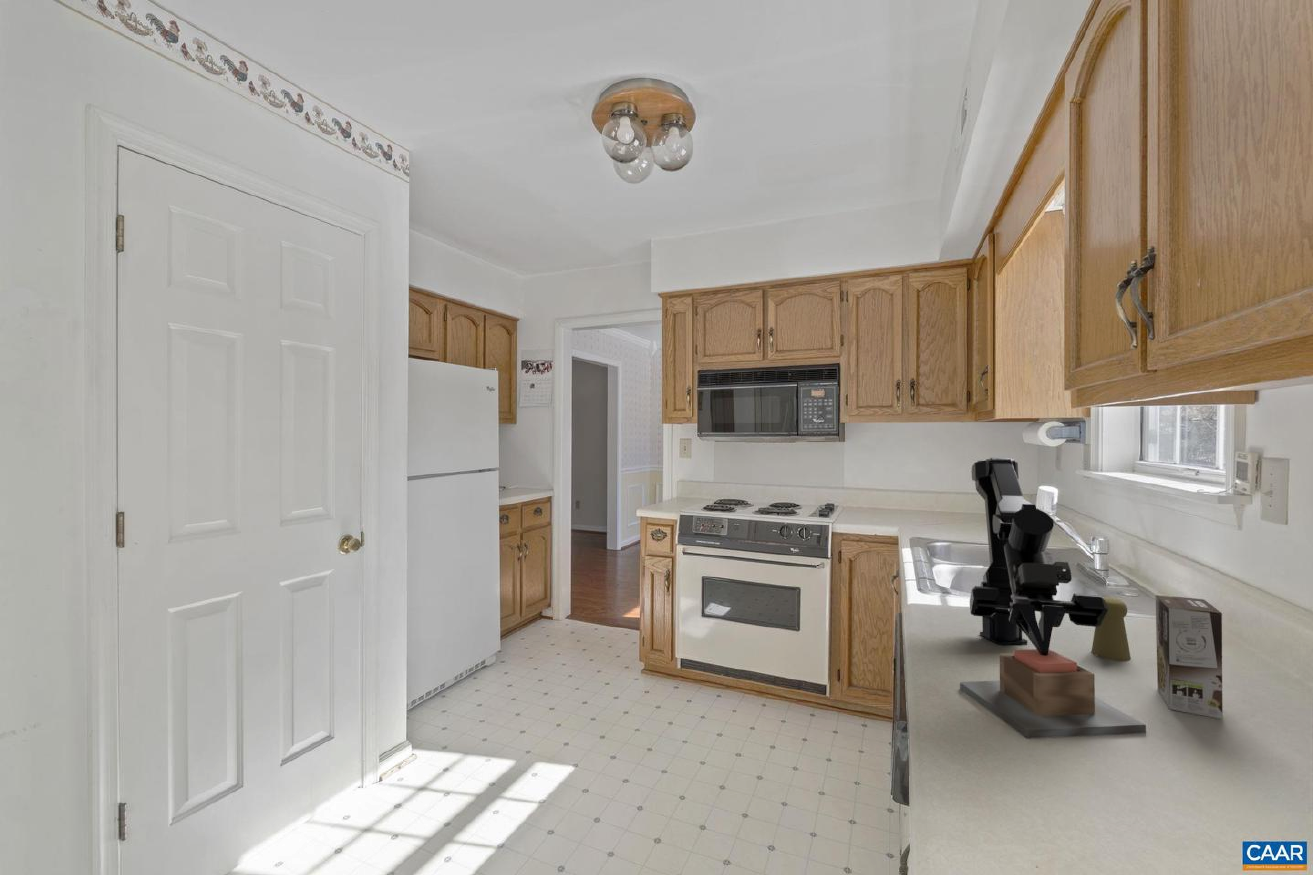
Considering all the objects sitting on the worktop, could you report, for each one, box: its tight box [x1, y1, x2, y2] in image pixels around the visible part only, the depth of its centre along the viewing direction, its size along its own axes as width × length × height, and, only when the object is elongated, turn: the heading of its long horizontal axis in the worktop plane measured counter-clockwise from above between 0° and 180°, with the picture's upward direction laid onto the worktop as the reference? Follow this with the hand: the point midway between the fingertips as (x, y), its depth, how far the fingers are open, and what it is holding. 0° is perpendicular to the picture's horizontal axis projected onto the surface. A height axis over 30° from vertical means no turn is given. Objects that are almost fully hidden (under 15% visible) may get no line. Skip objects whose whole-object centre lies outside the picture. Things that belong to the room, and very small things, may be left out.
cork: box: [1091, 596, 1132, 662], centre depth 111 cm, size 6×6×11 cm
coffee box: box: [1155, 594, 1223, 720], centre depth 91 cm, size 9×6×16 cm
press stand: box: [959, 652, 1147, 739], centre depth 90 cm, size 18×16×7 cm
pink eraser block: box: [1013, 648, 1078, 673], centre depth 90 cm, size 6×6×6 cm
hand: (1044, 654), depth 90 cm, fingers closed, pressing on pink eraser block
